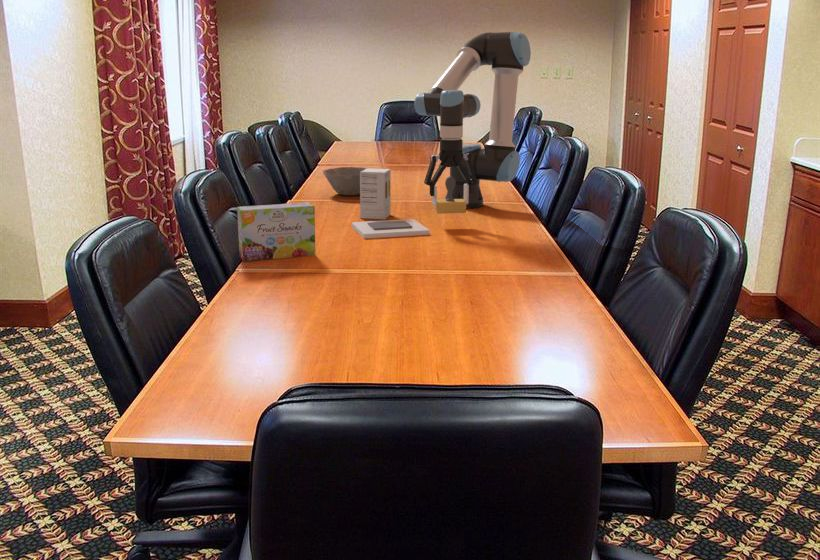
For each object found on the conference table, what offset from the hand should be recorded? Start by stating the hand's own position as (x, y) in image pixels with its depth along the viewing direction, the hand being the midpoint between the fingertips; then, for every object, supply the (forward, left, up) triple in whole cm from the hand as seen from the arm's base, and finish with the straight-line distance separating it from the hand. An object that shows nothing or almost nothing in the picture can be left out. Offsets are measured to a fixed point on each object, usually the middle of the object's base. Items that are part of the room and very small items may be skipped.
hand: (450, 204), depth 254 cm
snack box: (+61, +24, -8) cm, 67 cm away
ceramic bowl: (+19, -69, -8) cm, 72 cm away
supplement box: (+20, -23, -8) cm, 32 cm away
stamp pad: (+21, 0, -8) cm, 23 cm away
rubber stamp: (0, 0, -3) cm, 3 cm away
